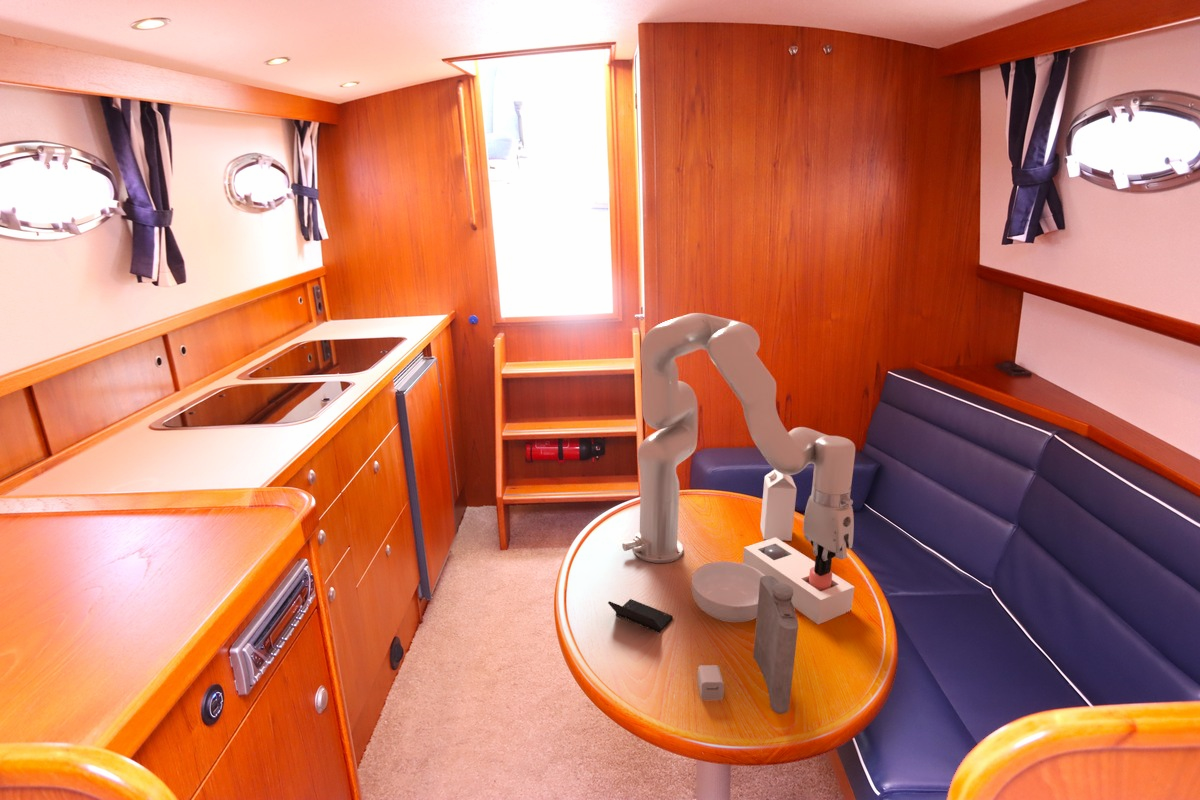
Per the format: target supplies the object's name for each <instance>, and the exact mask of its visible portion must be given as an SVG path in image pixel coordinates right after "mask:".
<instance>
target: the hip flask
mask: <svg viewBox="0 0 1200 800" xmlns="http://www.w3.org/2000/svg"><path fill="white" fill-rule="evenodd" d="M792 596H793V588H792V587H791V586H789V585H787V584H782V583H779V582H778V580H777V579H776V578H774V577H772V576H762V577H761V578H760V585H759V597H758V608H757V617H756V619H755V621H756V623H755V633H754V634H755V635H754V644H753V646H754V647H753V656H752V657H753V659H754V660H753V661H755V663H756V664H757V667H758V668H759V669H760V671H761V674H762V676H763V679H764V682H765V684H766V687H767V690H768V691H767V692H768V696H769V703H770V705H769V706H770V708H771V710H772V711H773V712H775V713H777V714H783V715H784V714H787V713H788V712H789V710H790V703H791V693H792V682H793V674H794V667H795V666H794V665H795V658H796V657H795V656H796V647H797V638H798V632H799V631H798V629H799V621H798V617H797V616H798V615H797V613H796V610H795V609H796V608H794V607H793V604H792V602H791V599H792Z"/></svg>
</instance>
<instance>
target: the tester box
mask: <svg viewBox="0 0 1200 800" xmlns="http://www.w3.org/2000/svg"><path fill="white" fill-rule="evenodd" d="M770 545H775V546H779V547H781V548H783V549H784V550H785V556H784V557H783V558H780V559H777V560H773V559H771V558H770V557H768V556H767V555H765V554H764V551H765V547H767V546H770ZM742 556H743V557H742V564H745V565H748V566H750V567H753V568H755V569H757V570H758V571H760V572H761V573H762V574H764V575H765V576H772V577H774V578H776V579H777V580H778V582H779V583H782V584H787V585H789V586H791V587H792V588H793V596H792V599H791V602H792V604H793V607H794V609H796V610H798V612H800V613H801V614H802V615H804V616H805V617H807V618H808V619H809V620H811V621H812V622H814V624H817V625H821V624H822V623H825V622H827V621H830V620H832V619H834V618H837V617H840V616H842V615H844V614H846V612H847V613H849V612H851V611H852V607H853V601H854V592H855V586H854V585H852V584H851V583H849V582H847V580H844V579H843V578H841V577H840V576H838V575H837V574H835V573H833V572H832V580H831V588H829V589H826V590H824V591H821V592H820V591H819V590H817V589H816V588H814V587H813V586H811V585H810V584H808V583H809V574H810V569H811V568H812V567H815V560H813V559H811V558H810V557H808V556H806V555H805V554H803V553H801V551H799V550H797V549H796V548H794V547H792V546H790V544H787V543H786V542H785V541H784V540H779V539H778V538H776V537H775V538H772V539H768V540H765V539H764V540H762V541H760V542H757V543H753V544H751V545H747V546H744V547H743V554H742ZM850 610H851V611H850ZM848 611H849V612H848Z"/></svg>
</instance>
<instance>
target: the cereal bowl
mask: <svg viewBox="0 0 1200 800" xmlns="http://www.w3.org/2000/svg"><path fill="white" fill-rule="evenodd" d="M762 576H765V575H764V574H762V573H761V572H760V571H758V570H757V569H755V568H753V567H750V566H748V565H745V564H743V563H740V562H735V561H728V560H721V561H719V560H718V561H713V562H708V563H705V564H703V565H701V566H699V567H698V568H696V569H695V571H694V572H693V574H692V577H691V582H690V583H691V592H692V593H691V594H692V596H693V599H694V601H695V604H697V606H699V608H700V610H702V611H703V612H704V613H706V614H707V615H708V616H711V617H712V618H714V619H717V620H720V621H723V622H729V623H742V622H748V621H752V620H754V619H757V608H758V597H759V585H760V578H761V577H762Z"/></svg>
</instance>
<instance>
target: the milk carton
mask: <svg viewBox="0 0 1200 800" xmlns="http://www.w3.org/2000/svg"><path fill="white" fill-rule="evenodd" d="M763 481H764V482H763V493H762V502H761V513H760V515H761V516H760V526H759V527H760V531H761V534H762V538H763V540H764V541H765V540H768V539H772V538H775V537H776V538H778V539H779V540H781V541H784V542H786V541H788V542H789V541H790V542H792V541H793V540H792V539H793V538H792V537H793V529H794V519H795V512H796V511H795V507H796V502H797V501H796V500H797V499H796V498H797V489H798V488H797V486H796V483H795V482H794V479H793V476H792V475H785V474H782V473H780V472H778V471H776V470H775V469H774V468H773V470H771V471H770V472H769V473H767V474H766V475H764V480H763Z"/></svg>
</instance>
